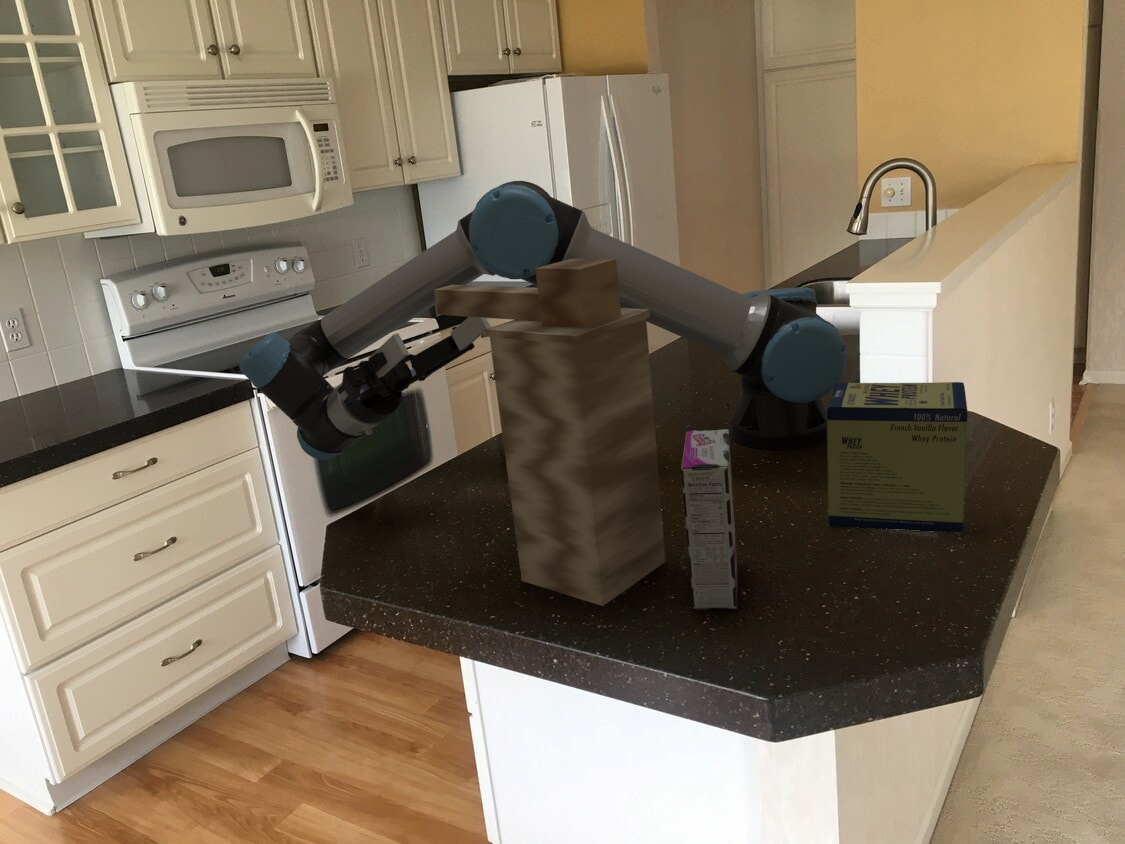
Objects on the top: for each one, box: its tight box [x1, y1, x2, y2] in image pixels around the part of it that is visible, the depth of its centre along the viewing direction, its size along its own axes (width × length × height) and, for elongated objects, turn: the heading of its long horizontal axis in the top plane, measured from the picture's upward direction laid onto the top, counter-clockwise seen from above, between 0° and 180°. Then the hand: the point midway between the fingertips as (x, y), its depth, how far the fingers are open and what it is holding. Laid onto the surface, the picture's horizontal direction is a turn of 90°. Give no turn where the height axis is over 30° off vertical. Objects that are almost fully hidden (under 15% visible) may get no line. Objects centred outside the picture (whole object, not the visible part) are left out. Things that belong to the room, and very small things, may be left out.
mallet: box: [434, 259, 621, 328], centre depth 103 cm, size 24×6×6 cm, turn 50°
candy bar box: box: [680, 429, 738, 611], centre depth 100 cm, size 11×5×16 cm, turn 170°
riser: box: [484, 308, 666, 607], centre depth 104 cm, size 13×13×30 cm
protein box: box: [826, 381, 968, 533], centre depth 113 cm, size 10×16×16 cm
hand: (444, 330), depth 113 cm, fingers open, 13 cm apart
